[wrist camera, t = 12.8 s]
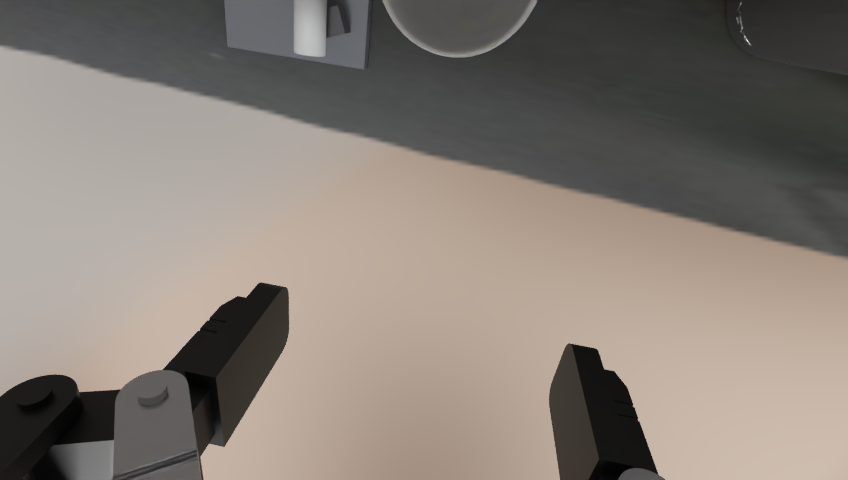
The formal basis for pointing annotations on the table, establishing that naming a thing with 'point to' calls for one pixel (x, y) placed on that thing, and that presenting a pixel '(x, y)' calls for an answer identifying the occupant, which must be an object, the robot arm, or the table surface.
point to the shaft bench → (280, 30)
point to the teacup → (459, 23)
